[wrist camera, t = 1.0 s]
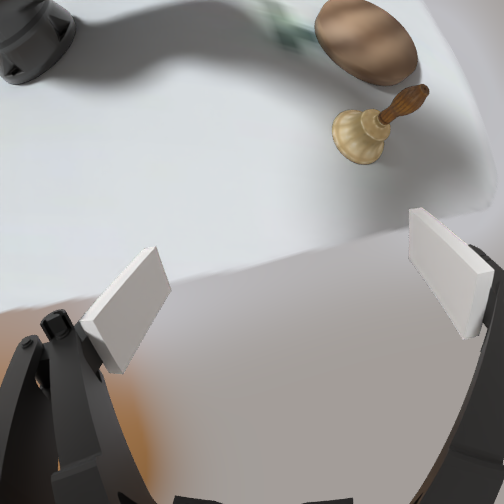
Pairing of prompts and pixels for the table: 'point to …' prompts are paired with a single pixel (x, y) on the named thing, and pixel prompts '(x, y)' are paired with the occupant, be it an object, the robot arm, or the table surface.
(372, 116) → the hand bell
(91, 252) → the table surface
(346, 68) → the walnut stand
